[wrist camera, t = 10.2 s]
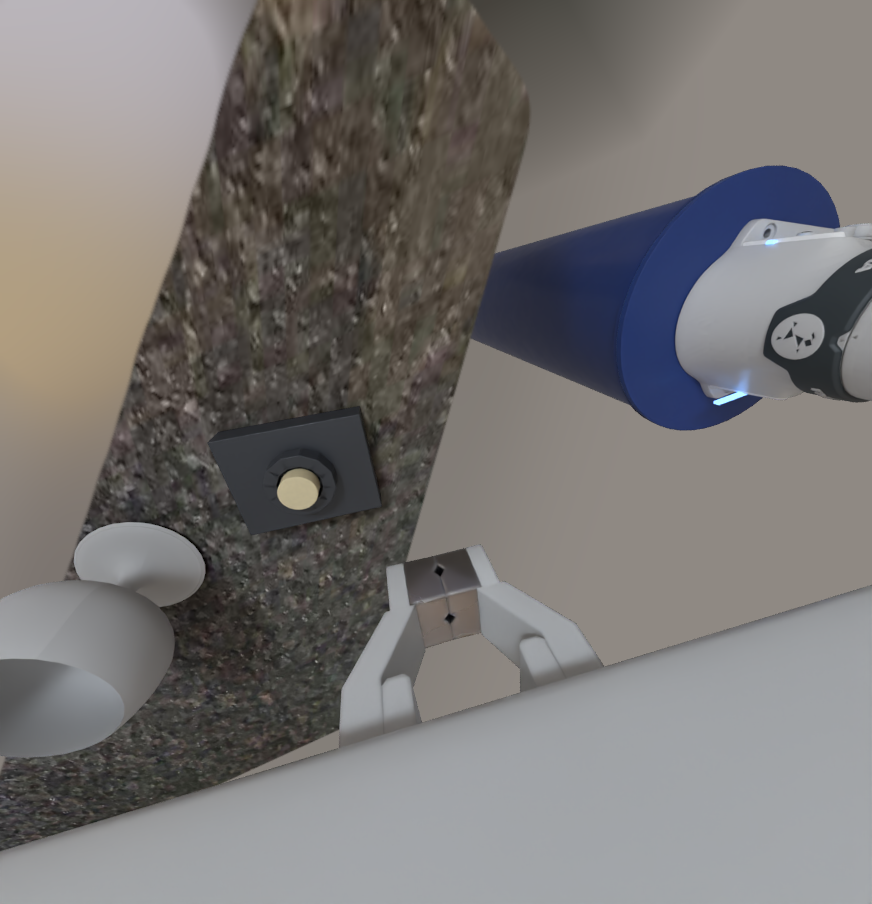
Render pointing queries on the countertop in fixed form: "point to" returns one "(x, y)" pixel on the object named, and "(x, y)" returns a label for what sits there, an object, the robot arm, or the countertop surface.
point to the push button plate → (298, 467)
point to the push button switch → (298, 489)
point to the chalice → (92, 639)
